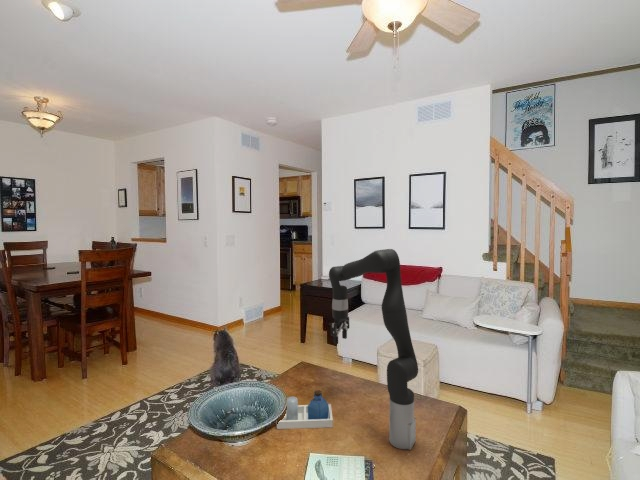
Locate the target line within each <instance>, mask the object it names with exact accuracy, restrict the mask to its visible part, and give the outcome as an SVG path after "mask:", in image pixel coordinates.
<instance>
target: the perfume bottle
mask: <svg viewBox="0 0 640 480" xmlns="http://www.w3.org/2000/svg"><path fill="white" fill-rule="evenodd" d="M328 404H329V403H328V401H327V400H326V399H325V398H323V394H322V390H319V389H317V390H314V393H313V399H312V400H310V402H309V404H307V405H308V420H309V419H327V418H328Z"/></svg>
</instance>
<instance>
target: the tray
mask: <svg viewBox="0 0 640 480" xmlns="http://www.w3.org/2000/svg"><path fill="white" fill-rule="evenodd" d="M308 405H309V404H303V405H302V404H298V420H286V414H285V416H284V418H283V419H282V420H280V421H279V422H278V424H277V423H276V430H293V429H294V430H295V429H318V428H319V429H320V428H321V429H323V428H334V419H333V412H332V404H331V403H328V418H327V419H309V420H308Z"/></svg>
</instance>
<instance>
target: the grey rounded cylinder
mask: <svg viewBox="0 0 640 480" xmlns="http://www.w3.org/2000/svg"><path fill="white" fill-rule="evenodd" d="M286 399H287V410H286V420H298V405H299V403H298V398H297V397H296V396H288V397H287V398H286Z"/></svg>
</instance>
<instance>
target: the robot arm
mask: <svg viewBox="0 0 640 480" xmlns="http://www.w3.org/2000/svg"><path fill="white" fill-rule="evenodd" d="M364 274H385V276H386V277H385V278H386V288H385V292H384V296H383V299H382V302H381V313H382V320H383V324H384V327H385V328H386V329H387V332H388V333H389V334H390V335H391V337H392V339H393V340H394V343H395V345H396V350H397V357H396V358H393V359H392V360H389V362H388V364H387V367H386V385H387V392H388V394H389V422H388V423H389V424H388V425H389V426H388V427H389V432H388V433H389V435H388V436H389V437H388V439H389V443H390V444H391V445H392V446H393V447H394V448H396V449H399V450H409V451H412V450H413V449H412V448H413V447H414V445H415V443H416V431H417V430H416V429H417V426H416V424H417V421H416V420H417V419H416V417H415V393H414V391H413V390H412V389H410V388H409V387H408V383H409V382H411V381H413V380H414V379H415V378H416V377H418V374H419V365H418V360H417V355H416V353H415V350H414V346H413V342H412V337H411V332H410V327H409V321H408V314H407V309H406V308H407V307H406V304H405V299H404V291H403V285H402V273H401V262H400V257H399V254H398V253H397V251H396V250H395V249H393V248H387V249H386V248H385V249H378V250H374V251H372V252H371V253H369V254H367V255H366V256H364V257H363V258H361V259H358V260H354V261H351V262H348V263H345V264H344V265H337V266H332V267H330V269H329V271H328V276H329V281H330V286H331V289H332V303H331V309H332V310H331V313H332V318H333V319H334V322H331V323H330V333H329V334H330V336H332V337H333V340H332V341H333V344H334V345H338V344H339V334H340V333H341V335H342V336H341V338H342V339H343V340H344V339H345V340H346V339H347V338H348V330H350V316H349V302H348V287H347V286H346V285H341V283H340V282H343V281H349V280H351V279H353V278H357V277H358V278H359V277H361V276H363V275H364Z"/></svg>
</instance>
